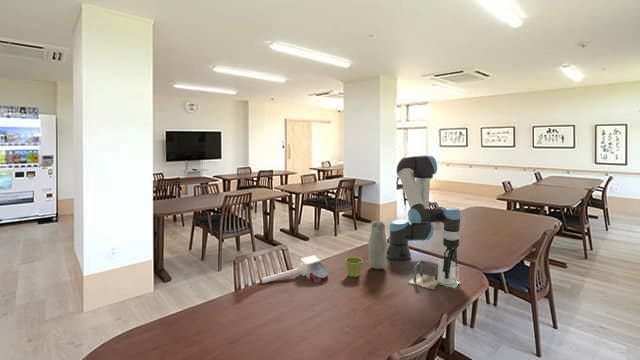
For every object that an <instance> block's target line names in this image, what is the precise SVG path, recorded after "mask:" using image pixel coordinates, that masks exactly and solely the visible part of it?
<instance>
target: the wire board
mask: <svg viewBox="0 0 640 360" xmlns="http://www.w3.org/2000/svg"><path fill="white" fill-rule="evenodd" d="M413 278H414V276H413V277H412V278H411V279H410V280H409V281H407V282H408V283H407V284H409V285H412V284H413V285H412V286H416V285H417V287H420V286H422V287H421V288H423V287H426V288H425V289H427V288H430V289H429V290H431V289H434V288H435V287H436V286H437V285H438V284H439V283H440V282H439V281H438V280H435V276H432V275H428V274H424V273H423V276H420V272H418V273H416V282H414V281H413ZM438 286H439V285H438ZM438 286H437V287H438ZM437 287H436V288H437ZM436 288H435V289H436ZM435 289H434V290H435Z"/></svg>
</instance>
